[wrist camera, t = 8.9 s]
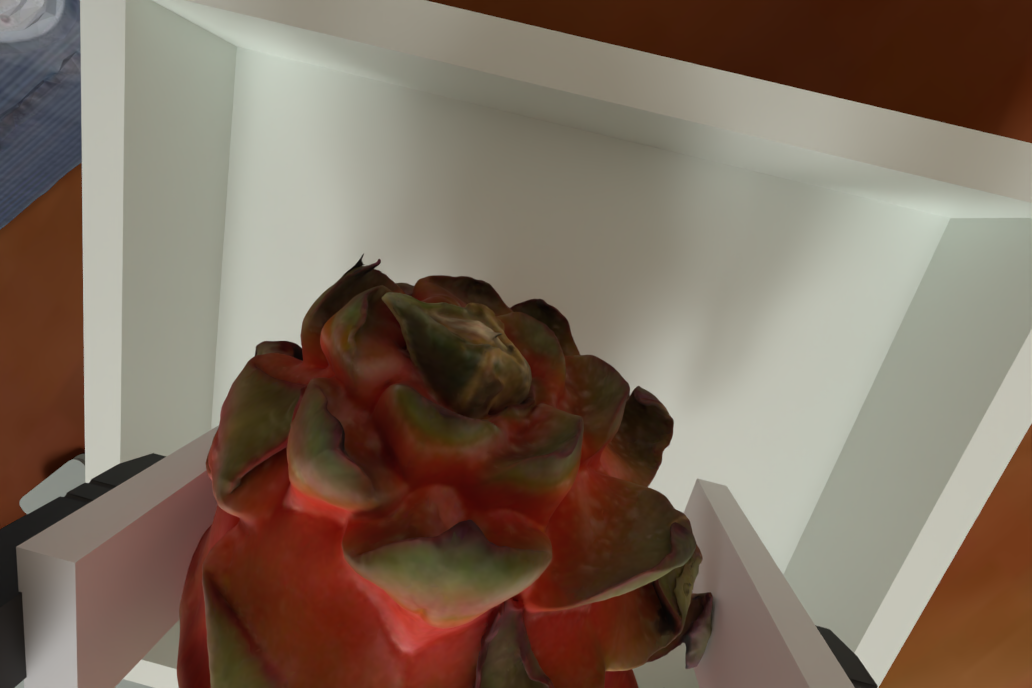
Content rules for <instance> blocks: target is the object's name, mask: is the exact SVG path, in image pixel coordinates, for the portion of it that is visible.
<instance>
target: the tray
mask: <svg viewBox="0 0 1032 688" xmlns="http://www.w3.org/2000/svg"><path fill="white" fill-rule="evenodd" d="M80 37H81V129H82V220H83V311H84V403H85V483H89V482H90V481H91V479H92V478H94V477H96V476H98V475H100V474H101V473H103V472H105V471H107V470H109V469H110V468H112V467H114V466H116V465H118V464H120V463H123V462H126V461H129V460H133V459H136V458H139V457H142V456H145V455H149V454H152V453H155V454H159V455H162V456H166V457H167V456H168V455H170V454H172V453H173V452H175V451H177V450H178V449H180V448H182V447H183V446H185V445H187V444H188V443H190V442H192V441H193V440H195V439H197V438H198V437H200V436H202V435H203V434H205V433H207V432H208V431H210V430H212V429H213V428H215V427H217V426H218V425H219V422H220V413H221V407H222V405H223V403H224V401H225V399H226V397H227V395H228V393H229V390H230V388H231V386H232V384H233V382H234V380H235V379H236V378H237V377H238V375H239V374H240V372H241V371H242V370H243V368H244V367H245V365H246V364H247V362H248V361H249V360H250V359H251V358H253V357H254V356H255V350H256V346H257V345H258V344H259V343H261V342H263V341H289V342H293V343H296V344H298V345H299V346H300V347H301V348H302V345H301V337H300V335H301V328H302V322H303V319H304V317H305V315H306V313H307V312H308V310H309V309H310V307H311V306H312V304H313V303H314V302H315V301H316V300H317V299H318V298H319V297H320V295H321V294H322V293H323V292H324V291H326V290H327V289H328V288H329V287H331V286H332V285H333V284H335V283H336V282H337V281H338V280H339V279H340V278H341V277H342V276H343V275H344V274H345V273H346V272H347V271H348V270H350V269H351V268H352V267H353V266H354V265H355V264H356V263H357V262H358V261H359V259H360V258H361V256H362V255H363V254H364V255H363V258H362V262H363V264H364V265H362V266H366V265H370V264H373V263H376V262H377V261H378V259H380V260H381V263H380V264H379V265H378V266H377V267H376V268H374V269H376V270H379V271H381V272H382V273H384V274H386V275H387V276H388V277H389V278H390V279H391V280H392V281H394V282H395V283H408V284H410V285H413V286H415V284H416V282H417V281H418V280H419V279H421V278H424V277H427V276H431V275H446V276H452V277H458V276H468V277H472V278H474V279H476V280H483V281H485V282H487V283H489V284H491V285H492V287H493V288H494V289H495V290H496V292H497V293H498V294H499V295H500V297H501V298H502V300H503V301H504V303H505V304H506V305H507V306H508V307H509V308H511V307H512V306H513V305H516V304H518V303H521V302H524V301H527V300H530V299H543V300H544V301H545V302H546V303H547V304H549V305H552V306H554V307H555V308H557V309H558V310H559V311H560V312H561V314H562V315H564V316H565V317H566V319H567V320H568V322H569V325H570V330H571V334H572V337H573V339H574V342H575V344H576V346H577V348H578V350H579V352H580V355H594V356H596V357H598V358H600V359H602V360H604V361H605V362H607V363H608V364H610V365H611V366H612V367H614V368H615V369H616V370H617V371H618V372H619V373H620V374H621V376H622V377H623V378H624V379H625V380H626V381H627V382H628V384H629V386H630V395H631V393H632V391H633V390H634V389H635V388H636V387H637V386H640V387H641V388H643V389H645V390H647V391H649V392H651V393H652V394H653V395H654V396H656V397H657V398H658V400H659V401H660V402H661V403H662V404H663V405H664V406H665V407H666V409H667V411H668V412H669V415H670V416H671V417H672V418H673V420H674V427H673V436H672V439H671V442H670V445H669V446H668V447H667V448H665V449H664V451H663V455H662V463H661V465H660V466H659V469H658V471H657V473H656V475H655V477H654V479H653V480H652V482H651V484H650V485H649V486H648V487H649V488H652V489H654V490H657V491H659V492H660V493H662V494H663V495H665V496H666V497H667V498H668V500H669V501H670V503H671V504H672V505H673V507H674V508H675V509H676V510H678V511H680V512H683V513H684V511H685V508H686V506H687V503H688V501H689V498H690V495H691V493H692V490H693V488H694V485H695V482H696V480H697V478H698V479H702V480H705V481H709V482H713V483H717V484H721V485H725V486H727V487H728V489H729V490H730V492H731V493H732V495H733V497H734V498H735V500H736V501H737V503H738V505H739V506H740V508H741V509H742V511H743V512H744V514H745V516H746V517H747V519H748V520H749V522H750V523H751V525H752V527H753V528H754V530H755V531H756V533H757V534H758V536H759V538H760V539H761V541H762V542H763V544H764V545H765V547H766V549H767V550H768V552H769V553H770V555H771V557H772V558H773V560H774V561H775V563H776V564H777V566H778V568H779V569H780V571H781V572H782V574H783V575H784V577H785V579H786V580H787V582H788V583H789V585H790V586H791V588H792V590H793V591H794V593H795V594H796V596H797V597H798V599H799V601H800V602H801V604H802V605H803V607H804V608H805V610H806V612H807V613H808V615H809V616H810V618H811V620H812V621H813V623H814V624H815V625H816V626H820V627H823V628H827V629H830V630H831V631H832V632H833V633H834V634H835V635H836V636H837V637H838V638H839V639H840V640H841V641H842V642H843V643H844V644H845V645H846V646H847V647H848V648H849V649H850V650H851V651H852V652H853V653H855V654H856V655H857V656H858V658H859V659H860V661H861V662H862V664H863V665H864V667H865V668H866V670H867V671H868V672H869V674H870V675H871V677H872V678H873V680H874V681H875V683H876V684H877V686H878V687H879V686H880V684H881V682H882V680H883V679H884V677H885V675H886V673H887V672H888V670H889V668H890V667H891V665H892V663H893V661H894V660H895V658H896V656H897V654H898V653H899V651H900V649H901V648H902V646H903V644H904V642H905V641H906V639H907V637H908V636H909V634H910V632H911V630H912V629H913V627H914V625H915V623H916V622H917V620H918V618H919V617H920V615H921V613H922V611H923V610H924V608H925V606H926V604H927V603H928V601H929V599H930V598H931V596H932V594H933V592H934V591H935V589H936V587H937V585H938V584H939V582H940V580H941V579H942V577H943V575H944V573H945V572H946V570H947V568H948V566H949V565H950V563H951V561H952V560H953V558H954V556H955V554H956V553H957V551H958V549H959V547H960V546H961V544H962V542H963V541H964V539H965V537H966V535H967V534H968V532H969V530H970V528H971V527H972V525H973V523H974V522H975V520H976V518H977V516H978V515H979V513H980V511H981V509H982V508H983V506H984V504H985V503H986V501H987V499H988V497H989V496H990V494H991V492H992V491H993V489H994V487H995V485H996V484H997V482H998V480H999V478H1000V477H1001V475H1002V473H1003V472H1004V470H1005V468H1006V466H1007V465H1008V463H1009V461H1010V459H1011V458H1012V456H1013V454H1014V453H1015V451H1016V449H1017V447H1018V446H1019V444H1020V442H1021V440H1022V439H1023V437H1024V435H1025V434H1026V432H1027V430H1028V428H1029V427H1030V425H1031V423H1032V143H1028V142H1024V141H1019V140H1015V139H1011V138H1007V137H1002V136H998V135H994V134H990V133H985V132H981V131H977V130H973V129H969V128H964V127H960V126H956V125H952V124H947V123H943V122H939V121H935V120H930V119H926V118H922V117H918V116H913V115H909V114H905V113H901V112H897V111H892V110H888V109H884V108H880V107H875V106H871V105H867V104H863V103H858V102H854V101H850V100H846V99H841V98H837V97H833V96H829V95H824V94H820V93H816V92H812V91H808V90H803V89H799V88H795V87H791V86H786V85H782V84H778V83H774V82H769V81H765V80H761V79H757V78H752V77H748V76H744V75H740V74H736V73H731V72H727V71H723V70H719V69H714V68H710V67H706V66H702V65H697V64H693V63H689V62H685V61H680V60H676V59H672V58H668V57H664V56H659V55H655V54H651V53H647V52H642V51H638V50H634V49H630V48H625V47H621V46H617V45H613V44H608V43H604V42H600V41H596V40H592V39H587V38H583V37H579V36H575V35H570V34H566V33H562V32H558V31H553V30H549V29H545V28H541V27H536V26H532V25H528V24H524V23H519V22H515V21H511V20H507V19H503V18H498V17H494V16H490V15H486V14H481V13H477V12H473V11H469V10H464V9H460V8H456V7H452V6H447V5H443V4H439V3H435V2H431V1H426V0H80ZM179 636H180V619H179V620H178V622H177V623H176V624H175V625H174V626H173V627H172V628H171V629H170V630H169V631H168V632H167V633H166V634H165V635H164V636H163V637H162V638H161V639H160V640H159V641H158V643H157V644H156V645H155V646H154V647H153V648H152V649H151V650H150V651H149V652H148V653H147V654H146V655H145V656H144V657H143V658H142V659H141V660H140V661H139V663H138V664H137V665H136V666H135V667H134V668H133V669H132V670H131V671H130V672H129V673H128V674H127V675H126V676H125V677H124V678H123V679H125V680H128V681H132V682H135V683H139V684H143V685H146V686H150V687H154V688H179V686H178V680H177V659H178V648H179ZM685 653H686V645H685V643H682V644H681V645H680V646H678V647H676V648H675V649H674V650H672V651H670V652H669V653H668V654H667V655H665V656H663V657H661V658H659V659H656V660H655V661H653V662H646V663H645V664H644V665H642V666H639V667H637V668H634V669H632V670H633V672H634V675H635V678H636V681H637V684H638V687H639V688H699V685H698V681H697V678H696V675H695V671H694V668H691V669H685V666H686V664H685ZM878 687H877V688H878Z"/></svg>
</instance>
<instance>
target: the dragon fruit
mask: <svg viewBox="0 0 1032 688" xmlns="http://www.w3.org/2000/svg"><path fill="white" fill-rule="evenodd" d="M363 255H364V254H363ZM363 255H362V256H361V258H360V259H359V261H358V262H357V263H356V264H355V265H354V266H353V267H352V268H351V269H350V270H348V271H347V272H346V273H345V274H344V275H343V276H342V277H341V278H340V279H339V280H338V281H337V282H336V283H335V284H333V285H332V286H331V287H329V288H328V289H327V290H326V291H324V292H323V293H322V294H321V295H320V297H319V298H318V299H317V300H316V301H315V302H314V303H313V304H312V306H311V307H310V309H309V310H308V312H307V313H306V315H305V317H304V319H303V322H302V328H301V335H300V337H301V345H302V348H301V347H300V346H299V345H298V344H296V343H293V342H289V341H263V342H261V343H259V344H258V345H257V346H256V350H255V356H254V357H253V358H251V359H250V360H249V361H248V362H247V364H246V365H245V367H244V368H243V370H242V371H241V372H240V374H239V375H238V377H237V378H236V379H235V380H234V382H233V384H232V386H231V388H230V390H229V393H228V395H227V397H226V399H225V401H224V403H223V405H222V407H221V413H220V422H219V427H218V429H217V432H216V434H215V436H214V438H213V441H212V445H211V447H210V450H209V453H208V456H207V459H206V470H207V473H208V476H209V477H210V479H211V480H212V488H213V494H214V497H215V499H216V501H217V508H216V512H215V515H214V519H213V523H212V525H211V526H210V527H209V528H208V529H207V530H206V531H205V533H204V534H203V535H202V537H201V539H200V541H199V543H198V545H197V548H196V550H195V552H194V554H193V556H192V559H191V562H190V565H189V568H188V571H187V575H186V579H185V583H184V587H183V592H182V596H181V601H180V607H179V618H180V636H179V648H178V659H177V680H178V686H179V688H639V687H638V684H637V681H636V678H635V675H634V672H633V670H632V669H634V668H637V667H639V666H642V665H644V664H645V663H646V662H653V661H655V660H656V659H659V658H661V657H663V656H665V655H667V654H668V653H669V652H670V651H672V650H674V649H675V648H676V647H678V646H680V645H681V644H682V643H685V645H686V653H685V664H686V666H685V669H691V668H694V667H697V666H698V664H699V662H700V660H701V658H702V657H703V655H704V652H705V650H706V647H707V643H708V640H709V638H710V636H711V633H712V627H711V612H712V602H713V595H712V593H711V592H706V593H699V594H696V593H692V592H693V591H692V590H693V587H694V582H695V579H696V577H697V575H698V574H699V565H700V564H701V562H702V560H703V557H702V553H701V551H700V549H699V547H698V546H697V544H696V540H695V537H694V535H693V531H692V527H691V523H690V520H689V519H688V518H687V517H686V515H685V514H684V513H683V512H680V511H678V510H676V509H675V508H674V507H673V505H672V504H671V503H670V501H669V500H668V498H667V497H666V496H665V495H663V494H662V493H660V492H659V491H657V490H654V489H652V488H649V487H648V486H649V485H650V484H651V482H652V480H653V479H654V477H655V475H656V473H657V471H658V469H659V466H660V465H661V463H662V455H663V451H664V449H665V448H667V447H668V446H669V445H670V442H671V439H672V436H673V427H674V420H673V418H672V417H671V416H670V415H669V412H668V411H667V409H666V407H665V406H664V405H663V404H662V403H661V402H660V401H659V400H658V398H657V397H656V396H654V395H653V394H652V393H651V392H649V391H647V390H645V389H643V388H641V387H640V386H637V387H636V388H635V389H634V390H633V391H632V393H631V395H630V386H629V384H628V382H627V381H626V380H625V379H624V378H623V377H622V376H621V374H620V373H619V372H618V371H617V370H616V369H615V368H614V367H612V366H611V365H610V364H608V363H607V362H605V361H604V360H602V359H600V358H598V357H596V356H594V355H580V352H579V350H578V348H577V346H576V344H575V342H574V339H573V337H572V334H571V330H570V325H569V322H568V320H567V319H566V317H565V316H564V315H562V314H561V312H560V311H559V310H558V309H557V308H555V307H554V306H552V305H549V304H547V303H546V302H545V301H544V300H543V299H530V300H527V301H524V302H521V303H518V304H516V305H513V306H512V307H511V308H509V307H508V306H507V305H506V304H505V303H504V301H503V300H502V298H501V297H500V295H499V294H498V293H497V292H496V290H495V289H494V288H493V287H492V285H491V284H489V283H487V282H485V281H483V280H476V279H474V278H472V277H468V276H458V277H452V276H446V275H431V276H427V277H424V278H421V279H419V280H418V281H417V282H416V284H415V286H413V285H410V284H408V283H395V282H394V281H392V280H391V279H390V278H389V277H388V276H387V275H386V274H384V273H382V272H381V271H379V270H376V269H374V268H376V267H377V266H378V265H379V264H380V263H381V260H380V259H378V261H377V262H376V263H373V264H370V265H366V266H362V265H364V264H363V262H362V258H363Z"/></svg>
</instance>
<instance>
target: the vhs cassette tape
mask: <svg viewBox="0 0 1032 688" xmlns="http://www.w3.org/2000/svg"><path fill="white" fill-rule="evenodd" d="M81 162H82V129H81V37H80V0H0V229H1V228H3V227H4V226H5V225H6V224H8V223H9V222H10V221H11V220H13V219H14V218H15V217H16V216H17V215H18V214H19V213H21V212H22V211H23V210H24V209H25V208H26V207H28V206H29V205H30V204H31V203H32V202H33V201H34V200H36V199H37V198H38V197H39V196H41V195H43V194H44V193H46V192H47V191H48V190H49V189H50V188H51V187H52V186H53V185H54V184H55V183H56V182H57V181H58V180H59V179H60V178H62V177H63V176H64V175H65V174H67V173H68V172H69V171H70V170H72V169H73V168H74V167H76V166H77V165H79V164H80V163H81Z"/></svg>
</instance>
